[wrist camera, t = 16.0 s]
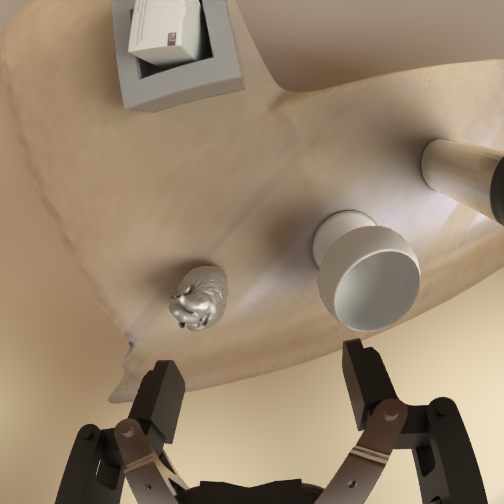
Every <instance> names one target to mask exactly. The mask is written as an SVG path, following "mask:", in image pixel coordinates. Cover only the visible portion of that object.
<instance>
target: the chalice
mask: <svg viewBox="0 0 504 504" xmlns="http://www.w3.org/2000/svg"><path fill="white" fill-rule="evenodd" d="M312 252H313V258H314V260H315V263H316V265H317V266H318V267H319V273H318V287H319V292H320V296H321V298H322V301H323V303H324V305H325V306H326V308H327V309H328V311H329V312H330V313H331V314H332V315H333V316H334V318H335V319H336V320H338V321H339V322H340V323H342V324H343V325H345V326H347V327H348V328H350V329H354V330H357V331H366V332H370V331H376V330H380V329H383V328H386V327H388V326H390V325H392V324H394V323H395V322H396V321H398V320H399V319H400V318H402V317H403V316H404V315H405V314H406V313H407V312H408V311H409V309H410V308H411V306H412V305H413V303H414V302H415V299H416V297H417V295H418V292H419V287H420V269H419V264H418V261H417V258H416V256H415V254H414V252H413V250H412V248H411V246H410V245H409V243H408V242H407V241H406V240H405V239H404V238H403V237H402V236H401V235H400V234H398V233H397V232H395V231H393V230H391V229H390V228H386V227H382V226H377V224H376V222H375V221H374V220H373V219H372V218H371V217H369V216H368V215H366V214H365V213H362V212H359V211H343V212H339V213H337V214H335V215H333V216H331V217H330V218H328V219H327V220H326V221H325V222H324V223H323V224H322V225H321V226H320V227H319V229H318V231H317V232H316V234H315V237H314V240H313V246H312Z"/></svg>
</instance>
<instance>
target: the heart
mask: <svg viewBox="0 0 504 504" xmlns="http://www.w3.org/2000/svg"><path fill="white" fill-rule="evenodd" d="M177 291H178V294H177V295H172V296H171V297H170V300H171V302H172V303H170V305H169V309H170V312H171V314H172V315H173V316H174V317H175V318H176V319H177V320H178V324H179V326H180V327H181V328H185V327H187V328H188V329H189V330H191V331H200V330H203V329H205V328H208V327H211V326H213V325H215V324H216V323H218V321H219V320H220V319H221V317H222V315H223V313H224V311H225V307H226V303H227V302H226V301H227V295H228V291H227V277H226V273H225V272H224V270H223V269H221V268H220V267H218V266H201V267H196V268H194V269H192V270H190V271H189V272H188V273H187V274H186V275H185V276H184V278H183V280H182V281H181V282H180V284H179V286H178V288H177Z"/></svg>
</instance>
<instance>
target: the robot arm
mask: <svg viewBox="0 0 504 504" xmlns="http://www.w3.org/2000/svg"><path fill="white" fill-rule="evenodd" d="M421 169H422V174H423V178H424V179H425V181H426V183H427V184H428V186H429V187H431V188H432V189H434V190H436V191H438V192H440V193H442V194H444V195H446V196H448V197H450V198H453V199H455V200H457V201H459V202H461V203H463V204H465V205H467V206H469V207H471V208H472V209H474V210H476V211H478V212H480V213H482V214H484V215H486V216H488V217H489V218H491V219H493V220H495V221H496V222H498V223H500V224H502V225H503V226H504V152H503V151H498V150H494V149H490V148H485V147H481V146H476V145H471V144H466V143H461V142H455V141H449V140H443V139H437V140H434V141H432V142H430V143H429V144H428V145H427V147H426V148H425V150H424V152H423V155H422V160H421ZM342 368H343V374H344V378H345V382H346V385H347V389H348V393H349V397H350V401H351V404H352V408H353V412H354V416H355V420H356V424H357V428H358V431H362V430H364V431H363V433H362V435H361V437H360V439H359V440H358V442H357V444H356V446H355V447H354V448H353V449H352V450H351V451H350V453H349V454H348V456H347V457H346V459H345V460H344V462H343V464H342V465H341V467H340V468H339V470H338V471H337V473H336V474H335V476H334V477H333V479H332V480H331V481H330V483H329V484H328V486H327V487H326V488H325V489H324V488H322V487H319V486H316V485H312V484H306V483H302V481H301V479H293V480H283V481H274V482H271V483H267V484H263V485H259V486H255V487H250V488H248V487H242V486H238V485H233V484H229V483H225V482H209V481H200V486H197V487H193V488H189V487H188V486H187V484H186V483H185V482H184V481H183V480H182V479H181V478H180V476H179V475H178V473H177V471H176V470H175V468H174V466H173V465H172V463H171V462H170V460H169V458H168V456H167V454H166V453H165V451H164V450H163V445H164V443H167V444H172V443H173V438H174V434H175V430H176V425H177V421H178V416H179V413H180V409H181V404H182V400H183V396H184V392H185V382H184V379H183V377H182V375H181V374H180V372H179V370H178V368H177V366H176V364H175V362H174V361H173V360H158V361H157V362H156V364H155V367H154V370H150V371H149V372H148V373H147V374H146V375H145V376H144V377H143V379H142V382H141V384H140V388H139V390H138V392H137V393H138V394H137V395H136V397H135V400H134V403H133V406H132V408H131V411H130V413H129V416H128V418H127V419H124V420H122V421H120V422H119V423H118V424H117V425H116V427H115V428H110V429H103V430H100V429H99V428H98V427H97V426H96V425H94V424H87V425H85V426H83V427H82V428H81V429H80V430H79V432H78V434H77V437H76V439H75V442H74V445H73V448H72V450H71V453H70V456H69V459H68V462H67V465H66V468H65V471H64V474H63V477H62V480H61V484H60V487H59V491H58V494H57V497H56V501H55V504H119V503H120V498H121V493H122V488H123V483H124V479H125V477H126V479H127V481H128V483H129V486H130V488H131V490H132V492H133V494H134V496H135V498H136V500H137V502H138V504H364V502H365V501H366V499H367V498H368V496H369V494H370V492H371V491H372V489H373V487H374V486H375V484H376V482H377V480H378V479H379V477H380V475H381V473H382V471H383V469H384V468H385V465H386V463H387V462H388V459H389V457H390V454H391V452H392V450H393V449H412V453H413V458H414V462H415V466H416V470H417V476H418V480H419V486H420V491H421V496H422V502H423V504H488V502H487V497H486V493H485V489H484V485H483V481H482V477H481V474H480V471H479V467H478V464H477V460H476V457H475V454H474V451H473V448H472V445H471V442H470V439H469V437H468V434H467V431H466V428H465V426H464V423H463V421H462V418H461V416H460V413H459V411H458V408H457V406H456V404H455V403H454V401H453V400H451V399H449V398H446V397H439V398H436V399H434V400H433V401H431V402H430V404H429V405H421V406H411V405H407V404H405V403H403V402H402V401H400V400H399V398H398V397H397V395H396V393H395V390H394V388H393V385H392V383H391V380H390V378H389V375H388V373H387V371H386V368H385V366H384V364H383V361H382V359H381V356H380V355H379V353H378V352H377V351H376V350H375V349H374V348H372V347H368V348H363V345H362V343H361V340H360V339H359V338H357V339H352V340H348V341H343V355H342ZM100 460H101V461H100ZM99 461H100V465H99V468H98V464H99ZM97 468H98V472H97ZM96 472H97V475H96Z"/></svg>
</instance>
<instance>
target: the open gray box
mask: <svg viewBox="0 0 504 504" xmlns="http://www.w3.org/2000/svg"><path fill="white" fill-rule="evenodd" d="M135 1H136V0H115V1H113V2H111V7H112V22H113V33H114V43H115V52H116V60H117V67H118V74H119V81H120V87H121V93H122V99H123V104H124V109H126V110H136V111H145V112H153V113H154V112H157V111H161V110H164V109H167V108H170V107H174V106H177V105H181V104H184V103H188V102H192V101H196V100H199V99H203V98H208V97H212V96H216V95H221V94H225V93H230V92H235V91H240V90H246V89H245V85H244V80H243V75H242V70H241V65H240V61H239V56H238V51H237V47H236V42H235V37H234V33H233V28H232V24H231V20H230V15H229V11H228V6H227V2H226V0H198V1H199V3H200V5H201V7H202V9H203V11H204V13H205V17H206V22H207V27H208V32H209V45H208V56H207V59H205V60H201V61H197V62H193V63H190V64H186V65H182V66H179V67H176V68H172V69H169V70H166V71H164V70H163V69H161V68H159V67H157V66H155V65H153V64H151V63H149V62H147V61H145V60H143V59H141V58H139V57H137V56H135V55H133V54H131V53H129V52H128V46H129V37H130V30H131V23H132V17H133V11H134V6H135Z"/></svg>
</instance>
